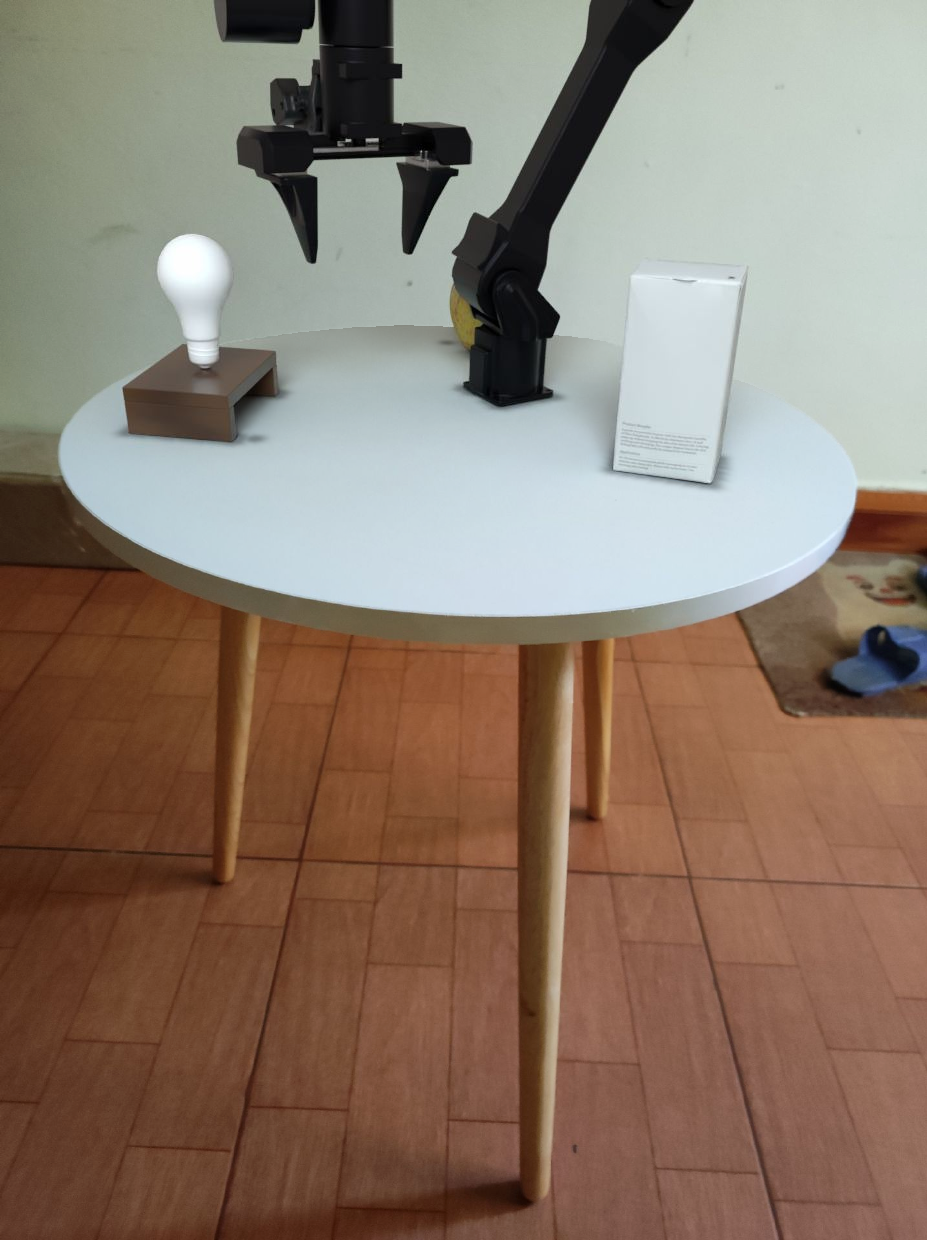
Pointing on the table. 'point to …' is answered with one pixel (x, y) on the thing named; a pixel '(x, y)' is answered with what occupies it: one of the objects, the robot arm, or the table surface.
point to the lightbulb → (197, 291)
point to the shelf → (197, 393)
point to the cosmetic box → (677, 367)
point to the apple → (462, 319)
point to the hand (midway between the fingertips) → (360, 258)
